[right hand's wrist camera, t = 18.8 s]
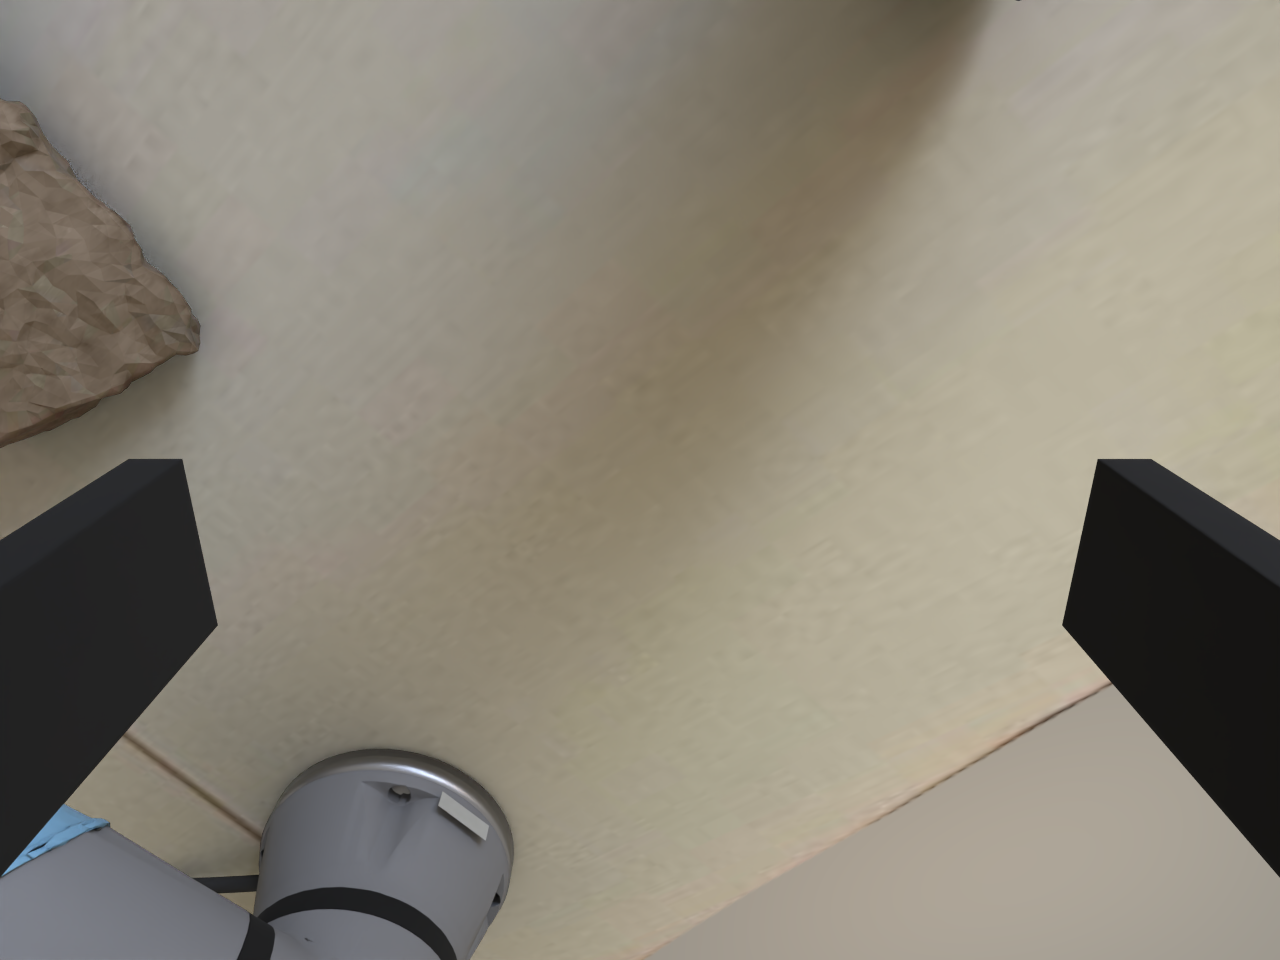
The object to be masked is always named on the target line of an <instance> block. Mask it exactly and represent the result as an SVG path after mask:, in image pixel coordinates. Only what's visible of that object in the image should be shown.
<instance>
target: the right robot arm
mask: <svg viewBox="0 0 1280 960" xmlns="http://www.w3.org/2000/svg"><path fill="white" fill-rule="evenodd" d="M217 626H218V624H217V619H216V615H215V610H214V605H213V601H212V596H211V591H210V587H209V582H208V577H207V573H206V568H205V563H204V559H203V554H202V549H201V545H200V540H199V535H198V531H197V526H196V521H195V517H194V512H193V507H192V502H191V498H190V493H189V488H188V484H187V479H186V474H185V470H184V465H183V460H182V459H128V460H127V461H125V462H123V463H122V464H120V465H119V466H117V467H116V468H114V469H112V470H111V471H109V472H108V473H106V474H104V475H103V476H101V477H100V478H98V479H97V480H95V481H93V482H92V483H90V484H89V485H87V486H85V487H84V488H82V489H81V490H79V491H78V492H76V493H74V494H73V495H71V496H70V497H68V498H66V499H65V500H63V501H62V502H60V503H59V504H57V505H55V506H54V507H52V508H51V509H49V510H48V511H46V512H44V513H43V514H41V515H40V516H38V517H36V518H35V519H33V520H32V521H30V522H29V523H27V524H25V525H24V526H22V527H21V528H19V529H17V530H16V531H14V532H13V533H11V534H10V535H8V536H6V537H5V538H3V539H2V540H0V960H470V958H471V957H472V955H473V953H474V952H475V950H476V948H477V947H478V945H479V943H480V942H481V940H482V938H483V936H484V935H485V933H486V931H487V929H488V927H489V926H490V924H491V923H492V922H493V920H494V918H495V917H496V915H497V913H498V912H499V910H500V909H501V907H502V905H503V903H504V901H505V898H506V895H507V892H508V887H509V882H510V876H511V871H512V865H513V857H514V846H513V839H512V834H511V830H510V827H509V824H508V822H507V820H506V818H505V816H504V814H503V812H502V810H501V809H500V807H499V806H498V804H497V803H496V802H495V800H494V799H493V798H492V797H491V796H490V795H489V793H488V792H487V791H486V790H485V789H484V788H482V787H481V786H480V785H479V784H478V783H477V782H476V781H474V780H473V779H472V778H470V777H469V776H467V775H466V774H464V773H463V772H461V771H460V770H458V769H456V768H454V767H452V766H450V765H448V764H446V763H444V762H441V761H439V760H437V759H434V758H431V757H428V756H424V755H421V754H417V753H412V752H407V751H401V750H390V749H369V750H359V751H353V752H348V753H344V754H339V755H336V756H334V757H331V758H328V759H326V760H323V761H321V762H319V763H317V764H315V765H313V766H312V767H310V768H308V769H307V770H306V771H304V772H303V773H301V774H300V775H299V776H298V777H297V778H296V779H294V780H293V781H292V782H291V784H290V785H289V786H288V787H287V788H286V790H285V791H284V793H283V794H282V795H281V797H280V799H279V801H278V803H277V804H276V806H275V808H274V810H273V812H272V814H271V816H270V817H269V819H268V821H267V823H266V825H265V828H264V831H263V834H262V838H261V843H260V859H259V872H260V873H259V875H247V876H230V877H210V878H191V877H189V876H188V875H186V874H184V873H183V872H181V871H180V870H178V869H176V868H175V867H173V866H171V865H170V864H168V863H167V862H165V861H163V860H162V859H160V858H158V857H157V856H155V855H154V854H152V853H150V852H149V851H147V850H146V849H144V848H142V847H141V846H139V845H137V844H136V843H134V842H133V841H131V840H129V839H128V838H126V837H125V836H123V835H121V834H120V833H118V832H116V831H115V830H113V829H112V828H110V823H109V822H108V821H106V820H105V819H101V818H91V817H89V816H86V815H84V814H82V813H80V812H78V811H76V810H74V809H72V808H71V807H69V806H67V805H65V804H64V803H65V802H66V801H67V799H68V798H69V797H70V796H71V795H72V794H73V793H74V791H75V790H76V789H77V788H78V787H79V786H80V784H81V783H82V782H83V781H84V780H85V779H86V777H87V776H88V775H89V774H90V773H91V772H92V770H93V769H94V768H95V767H96V766H97V765H98V764H99V762H100V761H101V760H102V759H103V758H104V757H105V755H106V754H107V753H108V752H109V751H110V750H111V748H112V747H113V746H114V745H115V744H116V743H117V741H118V740H119V739H120V738H121V737H122V736H123V735H124V733H125V732H126V731H127V730H128V729H129V728H130V726H131V725H132V724H133V723H134V722H135V721H136V719H137V718H138V717H139V716H140V715H141V714H142V713H143V711H144V710H145V709H146V708H147V707H148V706H149V704H150V703H151V702H152V701H153V700H154V699H155V697H156V696H157V695H158V694H159V693H160V692H161V690H162V689H163V688H164V687H165V686H166V685H167V684H168V682H169V681H170V680H171V679H172V678H173V677H174V675H175V674H176V673H177V672H178V671H179V670H180V668H181V667H182V666H183V665H184V664H185V663H186V662H187V660H188V659H189V658H190V657H191V656H192V655H193V653H194V652H195V651H196V650H197V649H198V648H199V646H200V645H201V644H202V643H203V642H204V641H205V639H206V638H207V637H208V636H209V635H210V634H211V633H212V631H213V630H214V629H215V628H216V627H217ZM1062 626H1063V627H1064V628H1065V629H1066V630H1067V631H1068V633H1069V634H1070V635H1071V636H1072V637H1073V638H1074V639H1075V641H1076V642H1077V643H1078V644H1079V645H1080V646H1081V648H1082V649H1083V650H1084V651H1085V652H1086V653H1087V655H1088V656H1089V657H1090V658H1091V659H1092V660H1093V662H1094V663H1095V664H1096V665H1097V666H1098V667H1099V668H1100V670H1101V671H1102V672H1103V673H1104V674H1105V675H1106V677H1107V678H1108V679H1109V680H1110V681H1111V682H1112V684H1113V685H1114V686H1115V687H1116V688H1117V689H1118V690H1119V692H1120V693H1121V694H1122V695H1123V696H1124V697H1125V699H1126V700H1127V701H1128V702H1129V703H1130V704H1131V706H1132V707H1133V708H1134V709H1135V710H1136V711H1137V713H1138V714H1139V715H1140V716H1141V717H1142V718H1143V719H1144V721H1145V722H1146V723H1147V724H1148V725H1149V726H1150V728H1151V729H1152V730H1153V731H1154V732H1155V733H1156V735H1157V736H1158V737H1159V738H1160V739H1161V740H1162V741H1163V743H1164V744H1165V745H1166V746H1167V747H1168V748H1169V750H1170V751H1171V752H1172V753H1173V754H1174V755H1175V756H1176V758H1177V759H1178V760H1179V761H1180V762H1181V764H1182V765H1183V766H1184V767H1185V768H1186V769H1187V770H1188V772H1189V773H1190V774H1191V775H1192V776H1193V777H1194V779H1195V780H1196V781H1197V782H1198V783H1199V784H1200V785H1201V787H1202V788H1203V789H1204V790H1205V791H1206V793H1207V794H1208V795H1209V796H1210V797H1211V798H1212V799H1213V801H1214V802H1215V803H1216V804H1217V805H1218V806H1219V808H1220V809H1221V810H1222V811H1223V812H1224V813H1225V815H1226V816H1227V817H1228V818H1229V819H1230V820H1231V821H1232V823H1233V824H1234V825H1235V826H1236V827H1237V828H1238V830H1239V831H1240V832H1241V833H1242V834H1243V835H1244V837H1245V838H1246V839H1247V840H1248V841H1249V842H1250V843H1251V845H1252V846H1253V847H1254V848H1255V849H1256V850H1257V852H1258V853H1259V854H1260V855H1261V856H1262V857H1263V859H1264V860H1265V861H1266V862H1267V863H1268V864H1269V865H1270V867H1271V868H1272V869H1273V870H1274V871H1275V872H1276V874H1277V875H1278V876H1279V877H1280V540H1278V539H1277V538H1275V537H1274V536H1272V535H1270V534H1269V533H1267V532H1266V531H1264V530H1263V529H1261V528H1259V527H1258V526H1256V525H1255V524H1253V523H1251V522H1250V521H1248V520H1247V519H1245V518H1244V517H1242V516H1240V515H1239V514H1237V513H1236V512H1234V511H1232V510H1231V509H1229V508H1228V507H1226V506H1225V505H1223V504H1221V503H1220V502H1218V501H1217V500H1215V499H1213V498H1212V497H1210V496H1209V495H1207V494H1206V493H1204V492H1202V491H1201V490H1199V489H1198V488H1196V487H1195V486H1193V485H1191V484H1190V483H1188V482H1187V481H1185V480H1183V479H1182V478H1180V477H1179V476H1177V475H1176V474H1174V473H1172V472H1171V471H1169V470H1168V469H1166V468H1164V467H1163V466H1161V465H1160V464H1158V463H1157V462H1155V461H1153V460H1152V459H1098V460H1097V465H1096V470H1095V474H1094V479H1093V484H1092V488H1091V493H1090V498H1089V502H1088V507H1087V512H1086V516H1085V521H1084V526H1083V531H1082V535H1081V540H1080V545H1079V549H1078V554H1077V559H1076V563H1075V568H1074V573H1073V577H1072V582H1071V587H1070V591H1069V596H1068V601H1067V605H1066V610H1065V615H1064V619H1063V624H1062ZM253 891H257V892H256V898H255V905H254V912H253V915H252V914H250V913H249V912H247V911H246V910H245V909H243V908H241V907H240V906H238V905H236V904H235V903H233V902H231V901H230V900H228V899H226V898H225V897H223V896H221V895H220V894H218V893H235V892H253Z"/></svg>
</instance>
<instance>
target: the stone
mask: <svg viewBox="0 0 1280 960" xmlns="http://www.w3.org/2000/svg"><path fill="white" fill-rule="evenodd" d="M199 333H200V324H199V322H198V320H197V319H196V318H195V317H194V316H193V315H192V313H191V308H190V307H189V305H188V304H187V302H186V300H185V299H184V297H183V296H182V294H181V293H180V292H179V291H178V290H177V289H176V288H175V287H174V286H173V285H172V284H171V283H170V282H169V281H168V279H167V278H166V277H165V276H164V275H163V274H162V273H161V272H160V271H159V270H157V269H156V268H154V267H153V266H151V265H149V263H148V262H147V261H146V259H145V258H144V256H143V253H142V250H141V248H140V246H139V245H138V243H137V242H136V241H135V238H134V235H133V232H132V229H131V226H130V225H129V224H128V223H127V222H126V221H124V220H123V219H122V218H121V217H120V216H119V215H118V214H117V213H116V212H115V211H113V210H111V209H109V208H108V207H106V206H105V204H104V203H103V202H101V201H99V200H98V199H96V198H95V197H94V196H93V195H92V194H91V193H90V192H89V191H88V190H87V189H86V188H85V187H84V186H83V185H82V184H81V183H80V182H79V181H78V180H77V179H76V177H75V175H74V173H73V171H72V169H71V167H70V165H69V162H68V161H67V160H66V159H65V158H63V157H62V156H61V155H60V154H59V153H58V152H57V151H56V150H55V149H54V148H53V146H52V145H51V144H50V143H49V141H48V140H47V139H46V137H45V136H44V134H43V133H42V131H41V128H40V126H39V124H38V122H37V120H36V118H35V116H34V115H33V114H32V112H31V111H30V110H29V109H28V108H27V107H26V105H24V104H23V103H21V102H16V101H5V100H2V99H1V98H0V448H2V447H4V446H6V445H8V444H11V443H14V442H17V441H20V440H23V439H26V438H29V437H32V436H34V435H37V434H39V433H41V432H44V431H49V430H52V429H54V428H56V427H58V426H60V425H62V424H63V423H65V422H67V421H69V420H71V419H73V418H77V417H80V416H81V415H83V414H84V413H86V412H87V411H89V410H91V409H92V408H94V407H96V405H97V404H98V403H99V401H100V400H101V398H105V397H109V396H112V395H116V394H120V393H122V392H123V390H124V389H126V388H128V386H129V385H130V383H131V382H133V381H135V380H137V379H139V378H141V377H143V376H145V375H147V374H148V373H150V372H151V371H152V370H153V369H154V368H155V367H156V366H158V365H160V364H162V363H164V362H165V361H167V360H168V359H170V358H171V357H173V356H174V355H176V354H177V355H189V354H193V353H195V352H197V351H198V350H199V345H200V337H199Z"/></svg>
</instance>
